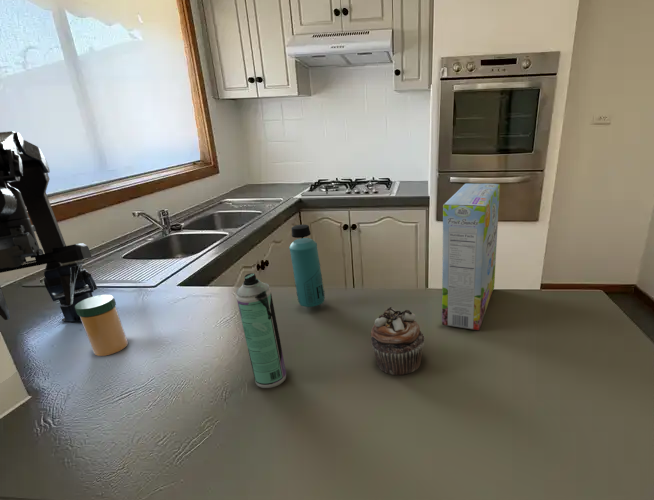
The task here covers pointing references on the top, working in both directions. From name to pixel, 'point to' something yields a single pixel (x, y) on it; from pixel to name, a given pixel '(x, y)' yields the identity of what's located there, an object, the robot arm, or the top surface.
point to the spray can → (261, 332)
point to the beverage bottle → (306, 268)
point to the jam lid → (95, 305)
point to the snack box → (469, 254)
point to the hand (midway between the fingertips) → (39, 312)
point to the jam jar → (105, 332)
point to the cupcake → (397, 342)
